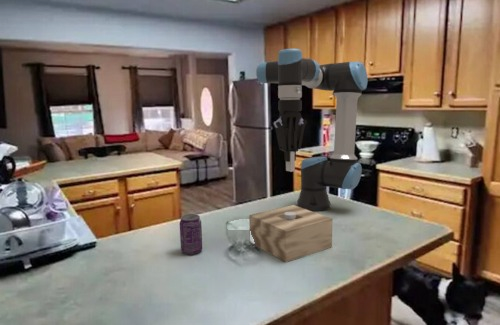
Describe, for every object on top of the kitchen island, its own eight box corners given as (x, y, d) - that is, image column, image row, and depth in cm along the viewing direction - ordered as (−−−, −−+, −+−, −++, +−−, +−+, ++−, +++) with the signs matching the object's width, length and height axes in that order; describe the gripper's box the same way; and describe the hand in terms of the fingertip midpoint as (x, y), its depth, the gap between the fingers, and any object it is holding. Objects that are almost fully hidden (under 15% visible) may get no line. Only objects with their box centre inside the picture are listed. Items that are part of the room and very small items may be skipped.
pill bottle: (297, 244, 121) (297, 216, 119) (281, 243, 122) (281, 215, 120) (297, 238, 126) (297, 211, 125) (282, 237, 127) (282, 210, 125)
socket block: (249, 242, 127) (249, 214, 126) (293, 230, 138) (293, 204, 136) (286, 262, 111) (286, 231, 109) (331, 246, 122) (332, 218, 120)
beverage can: (194, 245, 125) (192, 212, 123) (206, 251, 120) (205, 216, 118) (176, 251, 120) (174, 217, 118) (189, 257, 115) (187, 222, 113)
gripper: (281, 99, 110) (282, 175, 114) (313, 98, 117) (312, 170, 121) (266, 99, 116) (267, 171, 120) (297, 98, 123) (297, 166, 127)
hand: (290, 170), depth 120 cm, fingers closed
